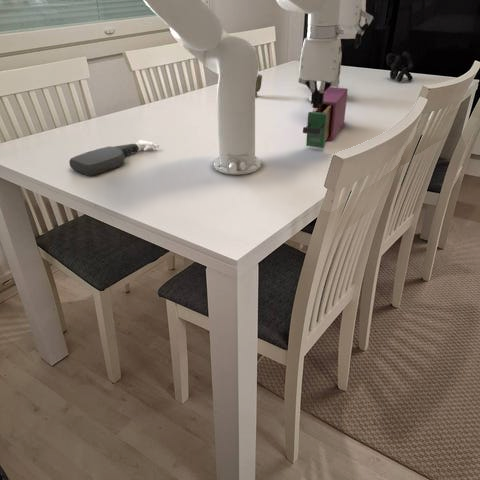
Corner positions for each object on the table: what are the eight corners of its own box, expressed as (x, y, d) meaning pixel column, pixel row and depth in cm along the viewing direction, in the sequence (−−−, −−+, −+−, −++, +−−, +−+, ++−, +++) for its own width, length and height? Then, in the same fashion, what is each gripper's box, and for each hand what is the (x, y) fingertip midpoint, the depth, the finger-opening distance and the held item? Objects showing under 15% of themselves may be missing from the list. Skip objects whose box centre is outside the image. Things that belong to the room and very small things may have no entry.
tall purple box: (332, 140, 135) (336, 102, 129) (312, 138, 137) (314, 100, 131) (343, 123, 149) (347, 88, 143) (325, 121, 151) (328, 87, 145)
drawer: (318, 154, 123) (321, 120, 118) (300, 152, 125) (302, 118, 120) (335, 130, 141) (338, 99, 135) (319, 128, 142) (322, 97, 137)
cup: (240, 97, 179) (240, 76, 175) (248, 93, 185) (248, 72, 181) (257, 99, 176) (257, 78, 172) (265, 94, 182) (265, 74, 178)
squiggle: (400, 92, 202) (376, 71, 205) (417, 76, 202) (392, 56, 205) (405, 81, 191) (380, 59, 194) (423, 64, 191) (397, 42, 194)
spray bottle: (67, 168, 120) (139, 144, 136) (91, 178, 114) (163, 151, 130) (65, 157, 118) (137, 134, 134) (89, 167, 112) (162, 142, 128)
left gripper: (355, 31, 111) (347, 105, 121) (297, 29, 116) (294, 101, 126) (349, 35, 106) (341, 113, 115) (289, 33, 110) (286, 108, 120)
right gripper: (379, -19, 126) (371, 46, 135) (319, -19, 132) (315, 44, 141) (375, -18, 120) (367, 50, 129) (313, -18, 126) (309, 47, 135)
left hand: (316, 106), depth 121 cm, fingers closed
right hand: (340, 47), depth 135 cm, fingers open, 9 cm apart
